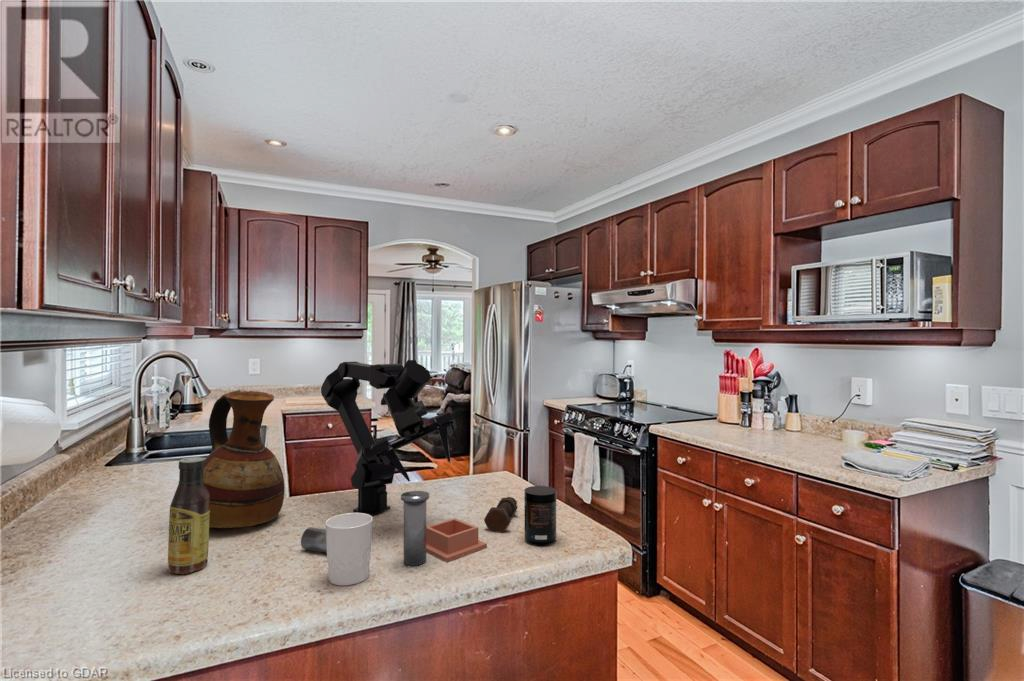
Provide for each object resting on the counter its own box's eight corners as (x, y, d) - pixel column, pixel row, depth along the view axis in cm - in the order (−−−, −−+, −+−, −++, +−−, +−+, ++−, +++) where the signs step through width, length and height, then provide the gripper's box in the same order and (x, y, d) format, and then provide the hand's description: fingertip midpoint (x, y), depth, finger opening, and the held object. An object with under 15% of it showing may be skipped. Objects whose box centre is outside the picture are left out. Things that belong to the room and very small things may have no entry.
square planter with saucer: (416, 547, 103) (416, 527, 103) (455, 534, 110) (455, 515, 110) (446, 562, 96) (446, 540, 96) (486, 547, 103) (486, 527, 103)
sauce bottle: (159, 573, 91) (159, 461, 91) (192, 559, 97) (192, 454, 97) (185, 578, 89) (186, 464, 89) (217, 564, 95) (218, 456, 95)
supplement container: (553, 533, 111) (553, 485, 111) (559, 546, 104) (559, 494, 104) (522, 534, 110) (522, 486, 110) (526, 547, 103) (526, 495, 103)
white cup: (326, 591, 85) (327, 530, 85) (323, 571, 92) (324, 516, 92) (375, 582, 88) (375, 524, 88) (369, 564, 95) (369, 510, 95)
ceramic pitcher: (235, 544, 104) (235, 396, 104) (163, 531, 111) (164, 393, 111) (303, 513, 123) (304, 388, 123) (238, 504, 129) (239, 386, 130)
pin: (301, 553, 101) (300, 531, 101) (315, 544, 105) (315, 524, 104) (353, 561, 97) (352, 539, 97) (366, 552, 101) (365, 531, 101)
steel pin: (394, 564, 95) (395, 496, 95) (412, 554, 100) (413, 489, 100) (416, 570, 93) (417, 500, 93) (434, 559, 97) (434, 493, 97)
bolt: (513, 518, 126) (499, 539, 111) (496, 506, 127) (480, 525, 112) (525, 498, 125) (512, 516, 111) (508, 486, 126) (493, 503, 112)
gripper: (354, 413, 107) (380, 479, 100) (438, 377, 111) (467, 439, 104) (366, 432, 116) (390, 495, 109) (442, 399, 121) (470, 456, 114)
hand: (429, 471), depth 109 cm, fingers open, 9 cm apart
